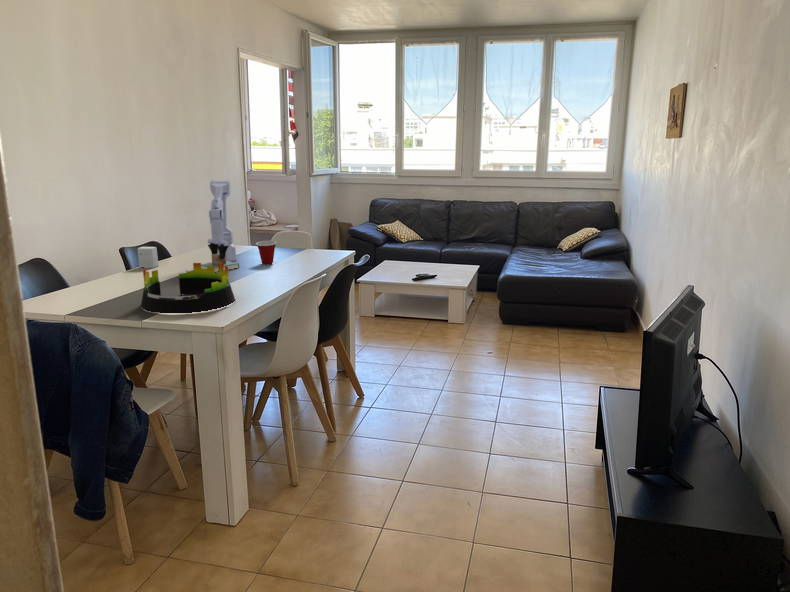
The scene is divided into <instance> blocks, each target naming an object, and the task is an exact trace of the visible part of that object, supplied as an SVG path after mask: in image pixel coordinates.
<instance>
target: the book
mask: <svg viewBox="0 0 790 592" xmlns="http://www.w3.org/2000/svg"><path fill="white" fill-rule="evenodd" d="M207 266H214V269H215V272H216V273H219V272H218V271H219V270H218V265H215V264H212V262H207V263H203V264H202V263H201V268H207ZM225 266H227V267H228V271H230V270H229V269H232V270H235V269H234V268H238V269H240V263H239V262H236V261H226V264H224V269H225Z"/></svg>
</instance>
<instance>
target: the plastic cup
mask: <svg viewBox="0 0 790 592" xmlns="http://www.w3.org/2000/svg"><path fill="white" fill-rule="evenodd" d="M255 245H256V247H257V249H258V254H259V257H260V260H261V265H263V264H271V265H273V264H272V263H274V259H275V251H276V250H275V249H276V245H277V241H275V240H262V241H257V242H256V243H255Z"/></svg>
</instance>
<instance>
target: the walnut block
mask: <svg viewBox="0 0 790 592" xmlns="http://www.w3.org/2000/svg"><path fill="white" fill-rule="evenodd" d="M211 263H212V264H215V265H218V263H221V264H226V254H225V259H220V254H219V253H218V254H212V253H211Z"/></svg>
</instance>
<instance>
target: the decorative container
mask: <svg viewBox="0 0 790 592" xmlns="http://www.w3.org/2000/svg"><path fill="white" fill-rule="evenodd" d="M201 264H202V263H201V262H193V263H192V265H193V267H192V268H193V270H186V272H185V273H179V276H178V285H179V286H178V287H179V295H180V294H181V295H182V294H201V295H199V296H197V295H182V296H181V295H180V296H178V295H175V296H170V295H162V293H161V291H162V290H161V282H160V281H159V279H160V278H159V271H158V269H155V270H152V271H151V277H150V271H149V270H148V271H147V268H143V270H142V274H143V275H142V276H143V285H144V287H143V291H142V297H141V303H140V308H141V307H142V308H143V309H145V310H147V311H151V312H160V313H192V312H201V311H208V310H212V309H217V308H221V307H224V306H227V305H229V304H231V303H233V302H234V301H235V302H236V299H235V295H234V292H233V288H232V287H231V286H232V285H231V283H230V279H229V270H228V267H227V266H225V269H224V264H221V263H218V270H219V272H216V273H215V269H214V266H207V268H201Z"/></svg>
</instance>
